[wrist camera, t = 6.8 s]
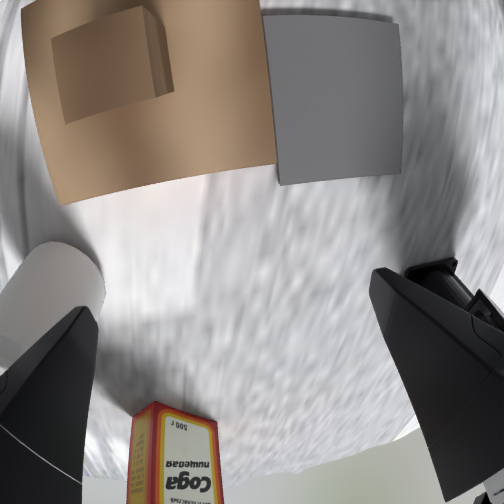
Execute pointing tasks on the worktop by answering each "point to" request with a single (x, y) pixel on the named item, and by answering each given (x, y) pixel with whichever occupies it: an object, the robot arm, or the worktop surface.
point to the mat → (334, 96)
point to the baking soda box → (173, 458)
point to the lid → (146, 91)
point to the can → (45, 296)
